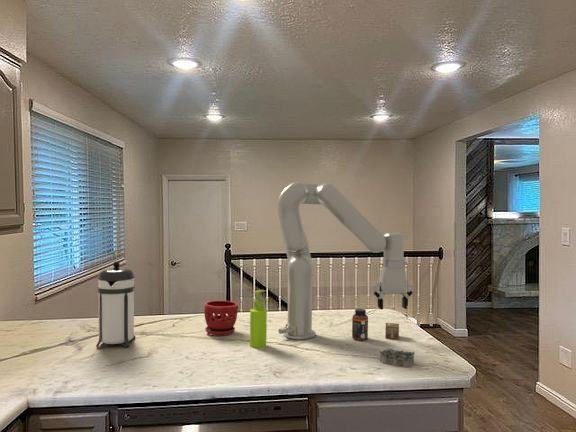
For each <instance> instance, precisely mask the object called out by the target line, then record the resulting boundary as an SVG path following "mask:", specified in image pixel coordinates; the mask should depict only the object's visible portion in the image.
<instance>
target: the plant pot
mask: <svg viewBox="0 0 576 432" xmlns="http://www.w3.org/2000/svg"><path fill="white" fill-rule="evenodd" d="M203 310H204V320H205V324H206V327H205V332H206V333H207V334H209V335H211V336H212V337H213V336H218V337H221V336H222V337H223V336H229V335H231V334H233V333H234V332H235V330H236V327H235V324H236V323H237V320H238V319H237V318H238V312H239V303H238V302H235V301H230V300H210V301H207V302H205V303H204V309H203Z"/></svg>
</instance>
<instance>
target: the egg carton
mask: <svg viewBox="0 0 576 432" xmlns="http://www.w3.org/2000/svg"><path fill="white" fill-rule="evenodd" d="M379 354H380V355H379V362H380V363H382V364H384V365H388V364H390V365H393V366H402V367H403V368H408V367H409V368H411V367H413V364H414V363H415V359H414V358H415V351H407V350H405V351H404V350H403V349H402V350H399V349H398V350H396V349H393V348H390V347H389V348H386V349H384V350H382V351H381V350H380V351H379Z"/></svg>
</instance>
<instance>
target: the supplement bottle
mask: <svg viewBox="0 0 576 432" xmlns="http://www.w3.org/2000/svg"><path fill="white" fill-rule="evenodd" d="M366 313H367V311H366V309H365V308H355V310H354V314H353V315H352V319H351V321H352V322H351V323H352V325H351V330H352V331H351V338H352V339H353V340H355V341H361V342H363V341H366V340H368V339H369V335H368V334H369V316H368V315H367V314H366Z"/></svg>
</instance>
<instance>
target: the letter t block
mask: <svg viewBox="0 0 576 432" xmlns="http://www.w3.org/2000/svg"><path fill="white" fill-rule="evenodd" d="M399 335H400V323H393V322H385V335H384V337H385V339H387V340H400V336H399Z"/></svg>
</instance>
